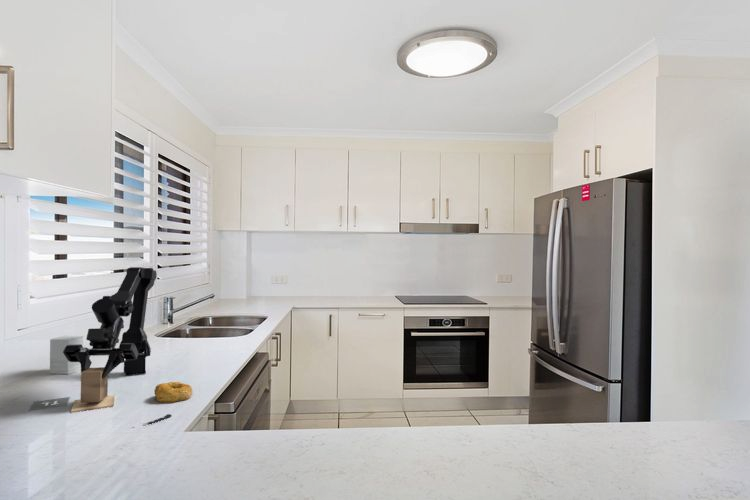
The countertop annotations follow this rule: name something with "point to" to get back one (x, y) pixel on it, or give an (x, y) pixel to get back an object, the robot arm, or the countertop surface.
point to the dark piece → (157, 420)
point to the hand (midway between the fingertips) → (92, 378)
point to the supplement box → (57, 357)
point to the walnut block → (93, 385)
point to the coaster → (93, 404)
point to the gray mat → (49, 403)
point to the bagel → (172, 392)
